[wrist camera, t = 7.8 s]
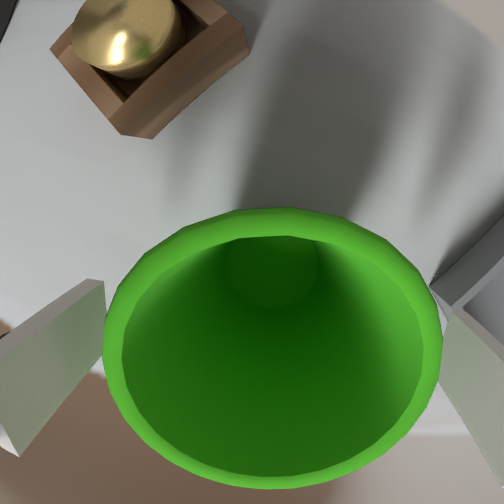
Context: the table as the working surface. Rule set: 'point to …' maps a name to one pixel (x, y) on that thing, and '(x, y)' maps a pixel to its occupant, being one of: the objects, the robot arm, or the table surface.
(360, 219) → the table surface
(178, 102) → the block
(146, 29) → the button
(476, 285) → the tray
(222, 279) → the cup
